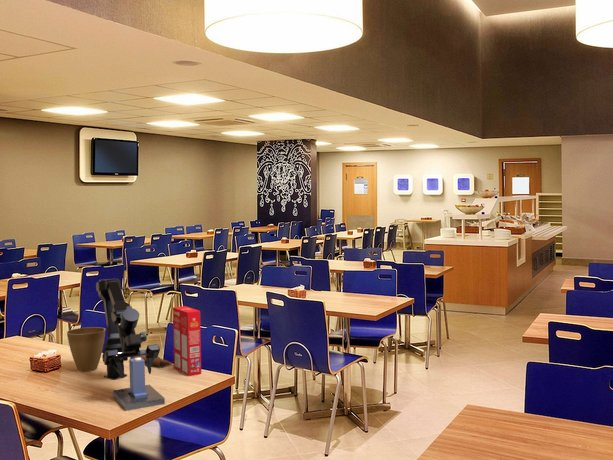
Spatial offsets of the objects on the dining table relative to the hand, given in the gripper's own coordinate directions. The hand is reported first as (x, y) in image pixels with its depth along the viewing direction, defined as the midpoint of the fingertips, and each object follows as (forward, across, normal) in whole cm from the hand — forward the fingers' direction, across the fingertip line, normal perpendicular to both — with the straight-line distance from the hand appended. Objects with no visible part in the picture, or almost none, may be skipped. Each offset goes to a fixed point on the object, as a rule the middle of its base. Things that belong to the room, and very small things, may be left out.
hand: (136, 375), depth 220 cm
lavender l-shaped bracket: (+6, 0, +5) cm, 8 cm away
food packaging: (-12, +27, +24) cm, 38 cm away
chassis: (+7, 0, +5) cm, 8 cm away
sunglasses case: (-25, +18, +38) cm, 49 cm away
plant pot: (-29, -7, +42) cm, 51 cm away
